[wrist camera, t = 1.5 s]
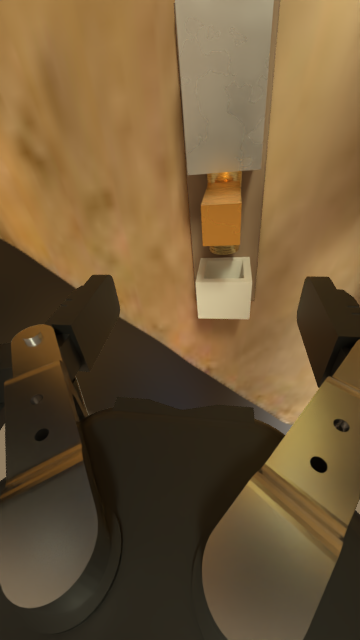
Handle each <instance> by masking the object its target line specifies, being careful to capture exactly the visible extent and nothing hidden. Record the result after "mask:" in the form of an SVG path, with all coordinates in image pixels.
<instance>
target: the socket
mask: <svg viewBox="0 0 360 640" xmlns="http://www.w3.org/2000/svg"><path fill="white" fill-rule="evenodd" d="M251 291H252V275H251V266H250V257H227V258H201V259H200V264H199V269H198V273H197V278H196V295H197V309H198V318H205V319H249V317H250V304H251Z"/></svg>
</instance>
